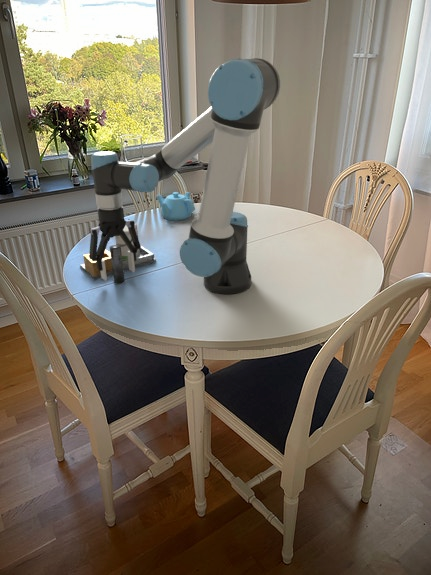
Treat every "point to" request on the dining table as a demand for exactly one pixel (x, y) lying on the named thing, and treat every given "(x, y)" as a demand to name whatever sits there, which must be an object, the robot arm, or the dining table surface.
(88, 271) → the two-compartment tray
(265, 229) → the dining table surface
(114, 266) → the round pin
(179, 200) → the teapot
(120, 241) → the ink box
